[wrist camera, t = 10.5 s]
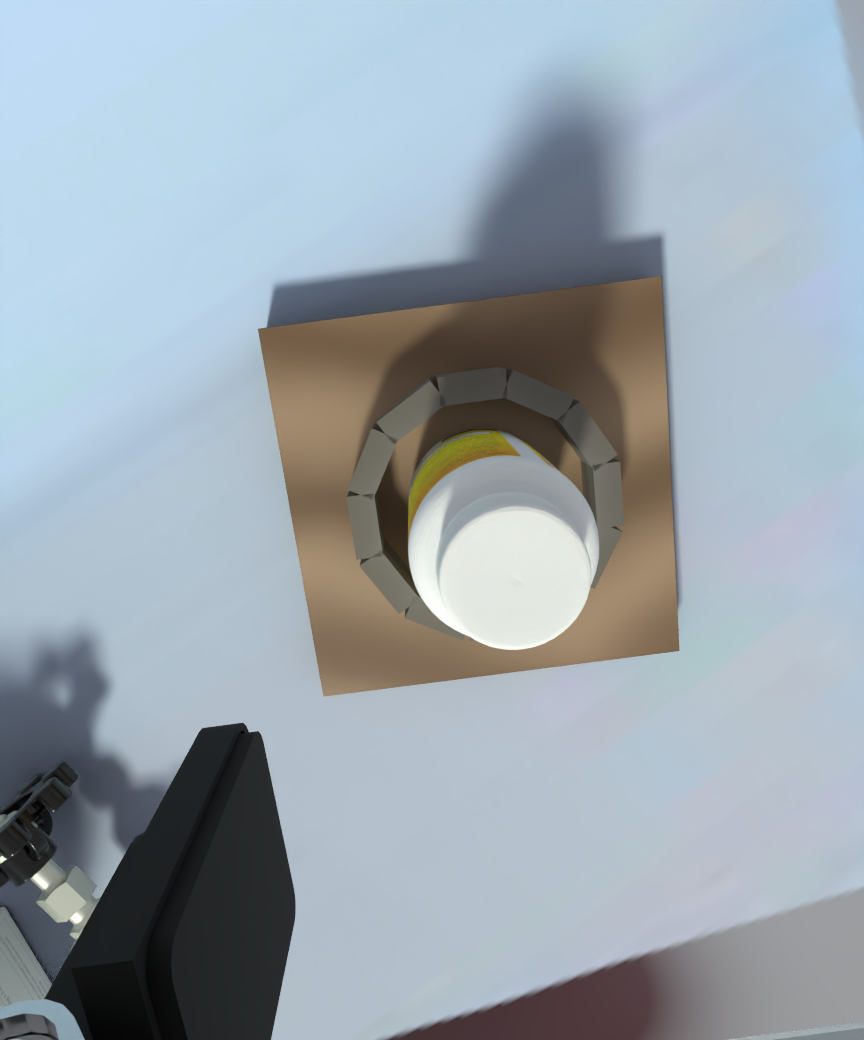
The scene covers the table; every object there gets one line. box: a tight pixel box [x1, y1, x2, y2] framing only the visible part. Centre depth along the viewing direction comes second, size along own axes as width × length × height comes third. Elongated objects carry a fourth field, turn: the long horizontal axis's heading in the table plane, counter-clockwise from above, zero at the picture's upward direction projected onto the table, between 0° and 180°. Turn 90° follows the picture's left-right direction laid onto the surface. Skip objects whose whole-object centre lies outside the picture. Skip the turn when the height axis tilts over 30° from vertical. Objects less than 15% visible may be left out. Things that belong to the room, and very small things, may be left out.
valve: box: [0, 761, 101, 954], centre depth 30 cm, size 7×7×12 cm
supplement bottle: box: [408, 428, 599, 650], centre depth 23 cm, size 6×6×10 cm
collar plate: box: [258, 276, 679, 696], centre depth 28 cm, size 15×15×4 cm
